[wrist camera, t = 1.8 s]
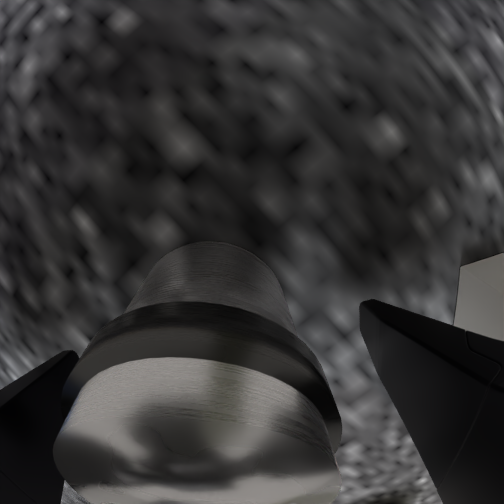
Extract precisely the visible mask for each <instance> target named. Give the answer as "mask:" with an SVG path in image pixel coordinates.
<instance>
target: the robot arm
mask: <svg viewBox="0 0 504 504" xmlns="http://www.w3.org/2000/svg"><path fill="white" fill-rule="evenodd" d="M359 312H360V331H361V334H362V337H363V339H364V341H365V344H366V346H367V349H368V351H369V354H370V356H371V359H372V361H373V364H374V366H375V369H376V371H377V373H378V375H379V377H380V379H381V381H382V383H383V385H384V387H385V389H386V390H387V392H388V394H389V396H390V398H391V400H392V402H393V403H394V405H395V407H396V409H397V411H398V413H399V415H400V417H401V419H402V420H403V422H404V424H405V426H406V428H407V430H408V432H409V434H410V436H411V438H412V440H413V442H414V444H415V446H416V448H417V450H418V452H419V454H420V456H421V458H422V460H423V462H424V464H425V466H426V468H427V470H428V472H429V474H430V476H431V478H432V480H433V483H434V485H435V487H436V489H437V491H438V494H439V496H440V498H441V500H442V502H443V504H504V341H501V340H498V339H494V338H490V337H487V336H484V335H480V334H477V333H474V332H471V331H468V330H467V331H465V329H462V328H459V327H456V326H453V325H450V324H447V323H444V322H441V321H438V320H435V319H432V318H429V317H426V316H423V315H420V314H417V313H414V312H411V311H408V310H405V309H402V308H399V307H396V306H393V305H390V304H387V303H384V302H381V301H378V300H375V299H370V300H367V301H363V302H361V303H360V306H359ZM78 360H79V357H78V355H77V353H76V352H75V351H73V350H66V351H62V352H61V353H59V354H57V355H56V356H54V357H52V358H51V359H49V360H48V361H46V362H44V363H43V364H41V365H40V366H38V367H36V368H35V369H33V370H31V371H30V372H28V373H27V374H25V375H23V376H22V377H20V378H19V379H17V380H15V381H14V382H12V383H11V384H9V385H7V386H6V387H4V388H3V389H1V390H0V504H61V497H62V492H63V486H64V480H65V479H64V478H63V477H62V475H61V474H60V472H59V470H58V469H57V466H56V464H55V461H54V458H53V445H54V442H55V440H56V438H57V436H58V434H59V432H60V430H61V428H62V425H63V423H64V420H63V416H62V411H61V395H62V391H63V387H64V385H65V383H66V381H67V379H68V377H69V375H70V373H71V372H72V370H73V368H74V367H75V365H76V364H77V362H78Z"/></svg>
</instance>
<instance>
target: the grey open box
mask: <svg viewBox="0 0 504 504" xmlns="http://www.w3.org/2000/svg"><path fill="white" fill-rule="evenodd" d="M453 326H456V327H459V328H462V329H465V331H467V330H468V331H471V332H474V333H477V334H480V335H484V336H487V337H490V338H494V339H498V340H501V341H504V253H501V254H498V255H495V256H492V257H489V258H486V259H483V260H480V261H477V262H474V263H471V264H467V265H464V266H461V267H460V278H459V288H458V296H457V304H456V312H455V318H454V325H453Z"/></svg>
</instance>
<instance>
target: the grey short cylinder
mask: <svg viewBox="0 0 504 504" xmlns="http://www.w3.org/2000/svg"><path fill="white" fill-rule="evenodd" d="M61 411H62V416H63V420H64V423H63V425H62V428H61V430H60V432H59V434H58V436H57V438H56V440H55V442H54V445H53V458H54V461H55V464H56V466H57V469H58V470H59V472H60V474H61V475H62V477H63V478H64V479H65V480H66V482H67V483H68V484H69V485H70V486H71V487H72V488H73V489H74V490H75V491H76V492H77V493H78V494H80V495H81V496H82V497H83V498H85V499H86V500H87V501H89V502H90V503H91V504H332V503H333V501H334V500H335V499H336V498H337V496H338V494H339V492H340V489H341V485H342V481H341V474H340V471H339V468H338V464H337V461H336V458H335V453H336V451H337V449H338V446H339V444H340V441H341V435H342V423H341V417H340V414H339V412H338V409H337V406H336V403H335V401H334V398H333V395H332V393H331V390H330V387H329V385H328V382H327V379H326V377H325V374H324V371H323V369H322V366H321V364H320V363H319V361H318V359H317V358H316V356H315V355H314V353H313V352H312V351H311V350H310V349H309V348H308V346H307V345H306V344H305V343H304V342H303V341H301V340H300V339H299V338H298V336H297V333H296V330H295V327H294V324H293V321H292V318H291V315H290V312H289V309H288V306H287V303H286V300H285V297H284V294H283V291H282V288H281V285H280V283H279V281H278V279H277V277H276V276H275V274H274V273H273V271H272V270H271V269H270V268H269V266H268V265H267V264H266V263H265V262H263V261H262V260H261V259H260V258H259V257H257V256H256V255H254V254H253V253H251V252H249V251H248V250H246V249H244V248H241V247H239V246H236V245H233V244H229V243H225V242H216V241H203V242H195V243H191V244H187V245H184V246H181V247H179V248H177V249H174V250H173V251H171V252H169V253H168V254H166V255H165V256H164V257H162V258H161V259H160V260H159V261H158V262H157V263H156V264H155V265H154V266H153V268H152V269H151V271H150V272H149V274H148V275H147V277H146V278H145V280H144V282H143V283H142V285H141V286H140V288H139V289H138V291H137V293H136V294H135V296H134V298H133V299H132V301H131V302H130V304H129V306H128V307H127V309H126V311H125V312H124V314H122V315H121V316H119V317H117V318H115V319H114V320H112V321H110V322H109V323H108V324H107V325H105V326H104V327H103V328H102V329H101V330H99V332H98V333H97V334H96V335H95V336H94V338H93V339H92V340H91V341H90V343H89V345H88V346H87V348H86V349H85V351H84V352H83V354H82V356H81V357H80V359H79V360H78V362H77V364H76V365H75V367H74V368H73V370H72V372H71V373H70V375H69V377H68V379H67V381H66V383H65V385H64V387H63V391H62V395H61Z"/></svg>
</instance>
